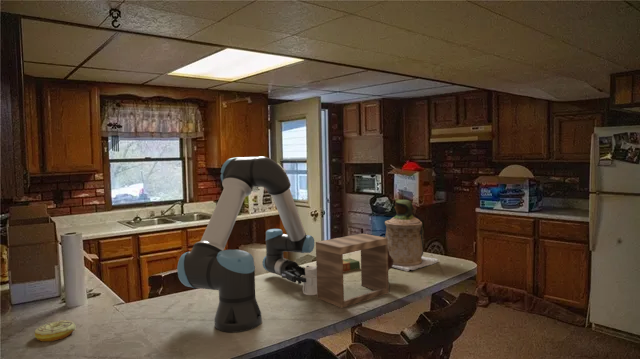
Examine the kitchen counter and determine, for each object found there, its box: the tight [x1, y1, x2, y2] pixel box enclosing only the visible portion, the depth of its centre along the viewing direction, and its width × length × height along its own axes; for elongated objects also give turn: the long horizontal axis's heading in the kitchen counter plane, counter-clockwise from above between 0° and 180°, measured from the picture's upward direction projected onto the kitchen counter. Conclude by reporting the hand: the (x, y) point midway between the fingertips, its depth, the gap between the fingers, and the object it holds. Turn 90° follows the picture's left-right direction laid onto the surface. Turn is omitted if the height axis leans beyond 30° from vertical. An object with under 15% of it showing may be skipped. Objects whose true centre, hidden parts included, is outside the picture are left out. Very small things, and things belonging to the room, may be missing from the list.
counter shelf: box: [315, 233, 390, 309], centre depth 165 cm, size 24×14×22 cm, turn 128°
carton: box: [343, 257, 361, 273], centre depth 203 cm, size 8×16×4 cm, turn 119°
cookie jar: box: [384, 197, 439, 272], centre depth 212 cm, size 25×25×32 cm
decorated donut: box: [34, 319, 77, 343], centre depth 136 cm, size 10×11×4 cm
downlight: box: [302, 265, 317, 296], centre depth 171 cm, size 8×7×10 cm
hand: (320, 279), depth 167 cm, fingers closed on downlight, 7 cm apart
